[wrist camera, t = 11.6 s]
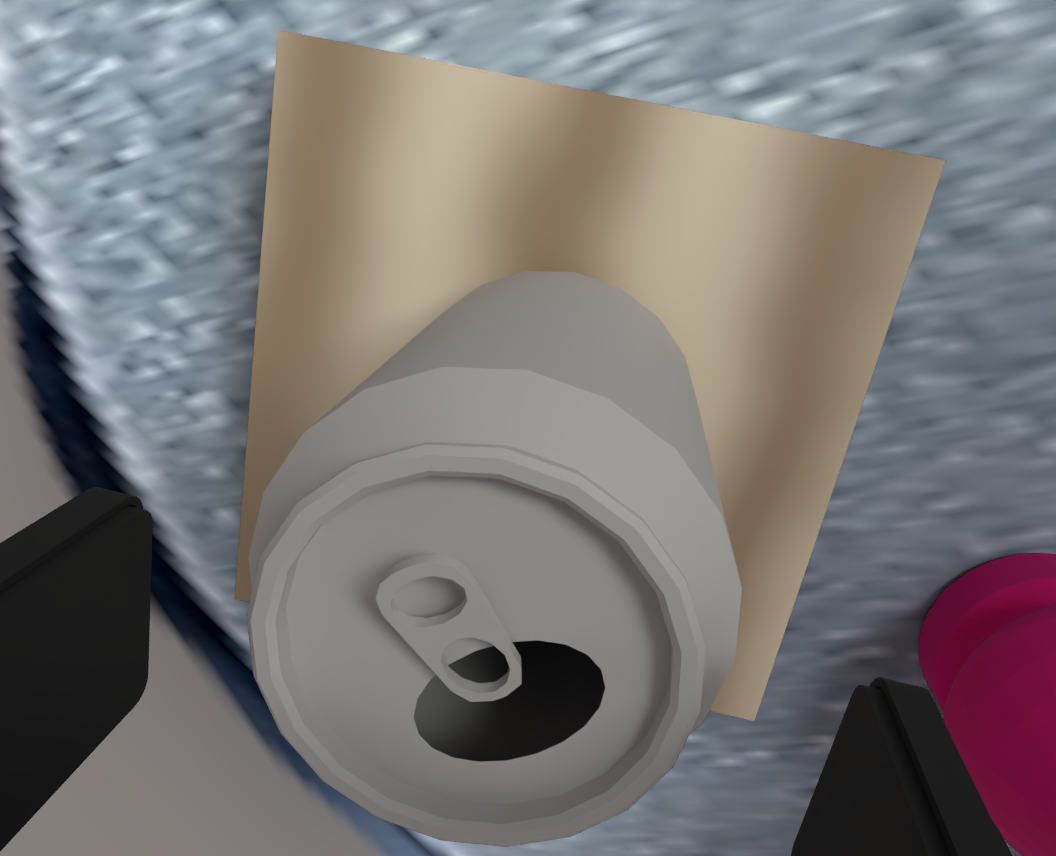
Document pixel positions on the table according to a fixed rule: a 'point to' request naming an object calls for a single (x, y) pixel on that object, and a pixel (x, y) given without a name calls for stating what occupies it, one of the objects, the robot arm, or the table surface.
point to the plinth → (586, 270)
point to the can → (500, 570)
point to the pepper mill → (1001, 689)
